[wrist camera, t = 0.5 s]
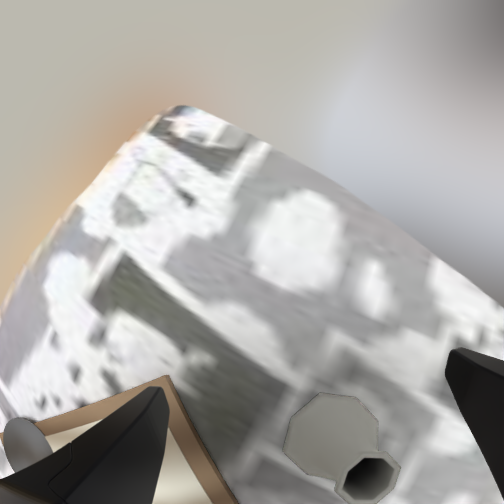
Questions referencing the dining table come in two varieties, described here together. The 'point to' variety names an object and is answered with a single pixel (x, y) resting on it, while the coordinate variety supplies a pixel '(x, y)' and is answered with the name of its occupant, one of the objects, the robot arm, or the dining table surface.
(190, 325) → the dining table surface
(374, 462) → the flask
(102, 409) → the beige tray
